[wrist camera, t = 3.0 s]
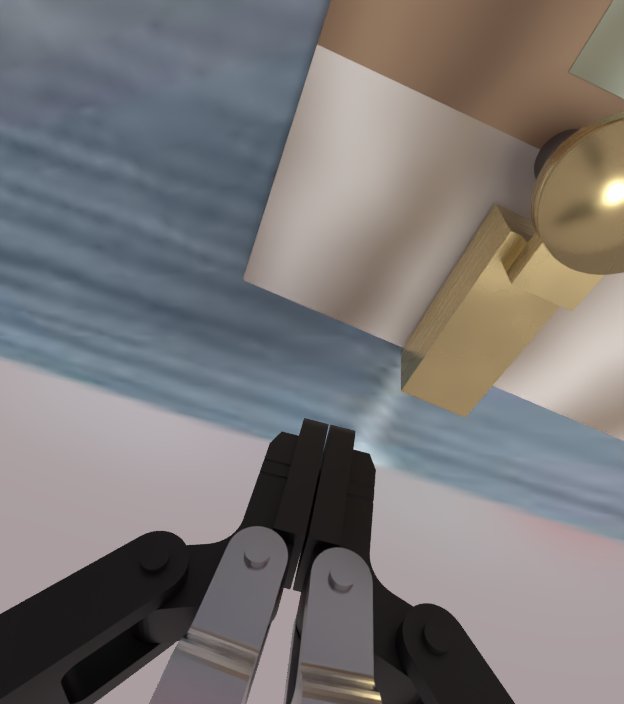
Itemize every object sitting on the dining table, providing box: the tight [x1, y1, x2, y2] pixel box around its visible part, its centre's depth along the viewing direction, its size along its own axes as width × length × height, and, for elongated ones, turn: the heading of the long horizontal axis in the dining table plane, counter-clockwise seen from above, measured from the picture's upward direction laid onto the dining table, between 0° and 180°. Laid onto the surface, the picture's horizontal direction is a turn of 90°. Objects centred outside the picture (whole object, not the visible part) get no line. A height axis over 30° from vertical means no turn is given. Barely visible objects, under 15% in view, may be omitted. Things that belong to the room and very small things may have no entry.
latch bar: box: [401, 112, 624, 417], centre depth 15 cm, size 11×4×4 cm, turn 159°
